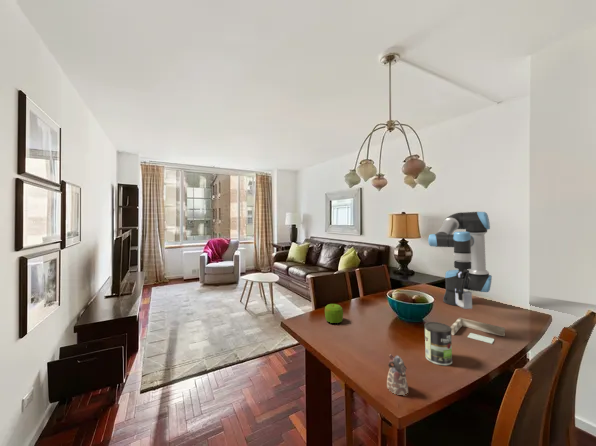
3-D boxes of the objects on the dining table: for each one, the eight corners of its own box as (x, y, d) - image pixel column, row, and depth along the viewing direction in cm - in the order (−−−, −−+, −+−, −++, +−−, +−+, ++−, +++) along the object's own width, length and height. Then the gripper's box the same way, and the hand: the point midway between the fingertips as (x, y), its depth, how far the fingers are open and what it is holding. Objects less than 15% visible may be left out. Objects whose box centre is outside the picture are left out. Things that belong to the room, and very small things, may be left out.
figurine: (404, 399, 84) (403, 363, 84) (383, 390, 88) (382, 356, 88) (411, 388, 89) (410, 355, 89) (391, 380, 94) (390, 348, 94)
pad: (470, 333, 130) (470, 332, 130) (494, 339, 122) (494, 338, 122) (467, 337, 126) (467, 336, 126) (492, 343, 118) (492, 343, 118)
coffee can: (458, 361, 105) (457, 328, 104) (441, 368, 100) (440, 333, 100) (435, 350, 114) (435, 320, 114) (419, 355, 110) (419, 324, 110)
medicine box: (472, 309, 126) (472, 292, 126) (463, 309, 126) (462, 292, 126) (464, 304, 134) (463, 288, 134) (455, 303, 134) (454, 288, 134)
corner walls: (459, 324, 141) (459, 317, 141) (504, 335, 126) (504, 327, 126) (450, 334, 129) (450, 326, 129) (499, 347, 115) (499, 339, 115)
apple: (347, 322, 148) (346, 304, 148) (333, 327, 142) (333, 308, 142) (334, 316, 158) (333, 299, 158) (321, 321, 152) (320, 303, 152)
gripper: (460, 257, 140) (461, 297, 140) (447, 262, 125) (449, 307, 125) (476, 259, 134) (477, 300, 134) (465, 264, 120) (466, 310, 120)
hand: (463, 303), depth 130 cm, fingers closed on medicine box, 9 cm apart
